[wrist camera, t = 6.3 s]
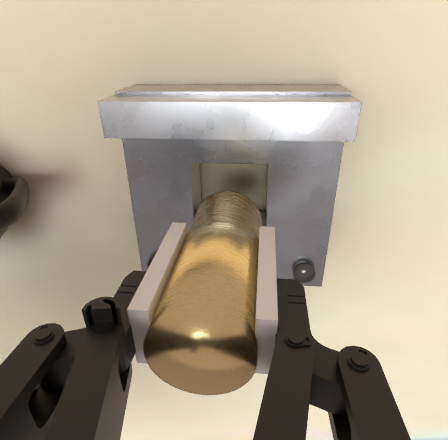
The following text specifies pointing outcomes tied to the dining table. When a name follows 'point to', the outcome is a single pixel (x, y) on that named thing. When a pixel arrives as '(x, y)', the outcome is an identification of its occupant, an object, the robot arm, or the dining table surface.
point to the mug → (11, 199)
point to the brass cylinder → (210, 302)
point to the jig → (236, 158)
